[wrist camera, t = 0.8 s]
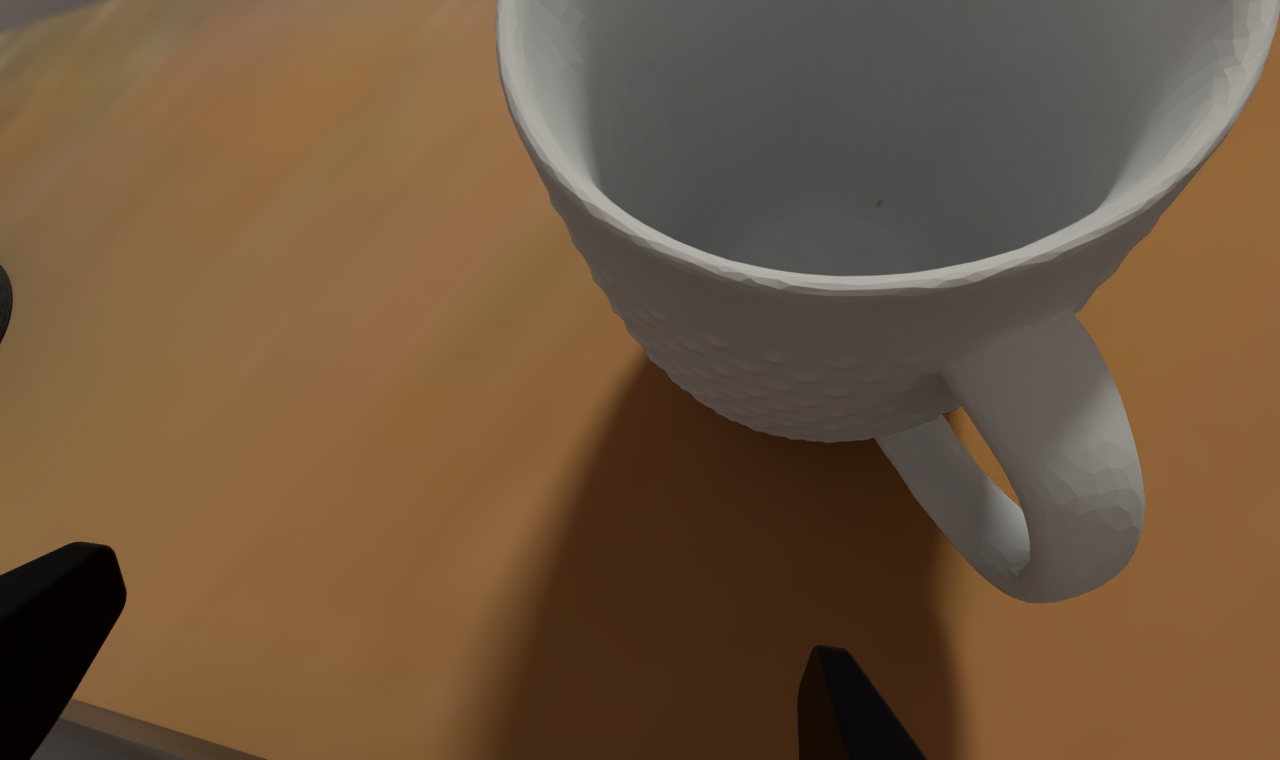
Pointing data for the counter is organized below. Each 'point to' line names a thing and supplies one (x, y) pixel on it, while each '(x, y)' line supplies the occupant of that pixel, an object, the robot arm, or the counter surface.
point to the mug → (891, 223)
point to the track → (123, 739)
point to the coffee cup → (4, 300)
